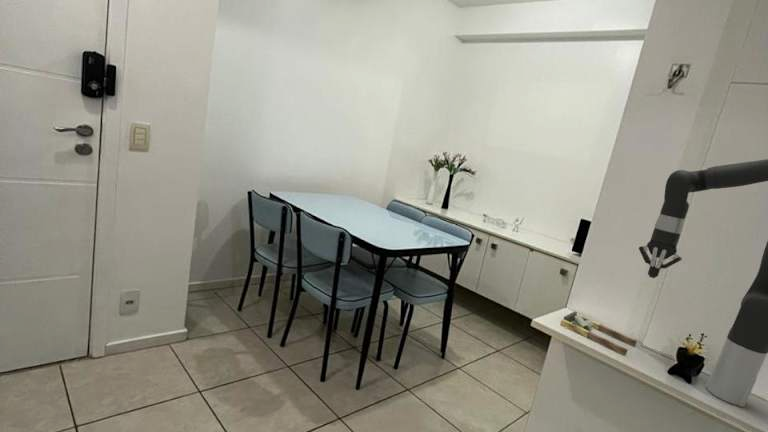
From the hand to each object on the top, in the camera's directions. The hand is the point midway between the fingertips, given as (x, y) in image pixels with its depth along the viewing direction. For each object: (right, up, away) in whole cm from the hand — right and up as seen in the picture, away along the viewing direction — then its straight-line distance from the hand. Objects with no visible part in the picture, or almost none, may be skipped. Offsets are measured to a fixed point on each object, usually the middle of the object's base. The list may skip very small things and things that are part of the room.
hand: (651, 277), depth 138 cm
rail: (-15, -22, +7) cm, 28 cm away
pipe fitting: (-18, -21, +10) cm, 30 cm away
